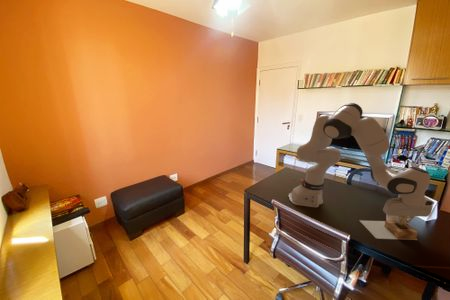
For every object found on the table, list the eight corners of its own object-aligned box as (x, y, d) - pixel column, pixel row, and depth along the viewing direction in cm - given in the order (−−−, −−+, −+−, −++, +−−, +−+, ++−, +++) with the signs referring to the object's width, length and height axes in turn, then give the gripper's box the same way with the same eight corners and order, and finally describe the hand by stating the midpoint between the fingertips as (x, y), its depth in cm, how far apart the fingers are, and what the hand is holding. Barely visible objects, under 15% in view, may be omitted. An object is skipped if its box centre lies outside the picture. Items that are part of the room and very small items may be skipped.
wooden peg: (398, 232, 98) (405, 213, 95) (394, 229, 101) (400, 209, 97) (404, 233, 98) (411, 213, 94) (400, 229, 101) (406, 210, 97)
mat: (376, 239, 96) (376, 238, 96) (359, 221, 109) (359, 220, 109) (417, 240, 95) (417, 239, 95) (395, 222, 108) (395, 221, 108)
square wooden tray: (397, 238, 96) (399, 232, 95) (384, 226, 104) (385, 220, 103) (416, 239, 95) (418, 232, 94) (401, 226, 104) (403, 220, 103)
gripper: (393, 201, 91) (386, 225, 95) (438, 202, 90) (429, 226, 94) (383, 194, 97) (377, 217, 101) (425, 195, 96) (417, 218, 100)
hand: (402, 221), depth 98 cm, fingers closed on wooden peg, 3 cm apart
